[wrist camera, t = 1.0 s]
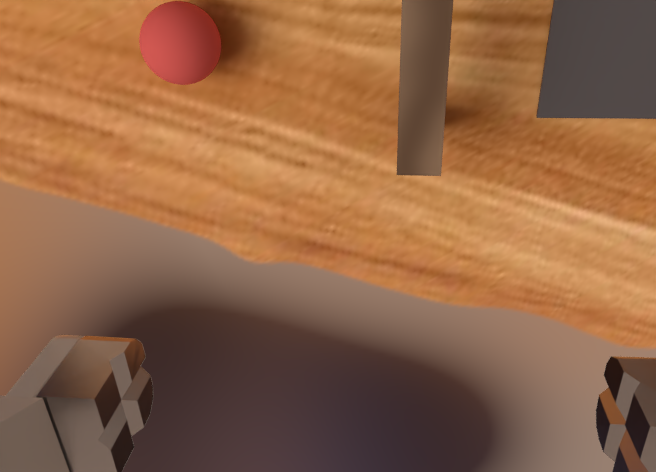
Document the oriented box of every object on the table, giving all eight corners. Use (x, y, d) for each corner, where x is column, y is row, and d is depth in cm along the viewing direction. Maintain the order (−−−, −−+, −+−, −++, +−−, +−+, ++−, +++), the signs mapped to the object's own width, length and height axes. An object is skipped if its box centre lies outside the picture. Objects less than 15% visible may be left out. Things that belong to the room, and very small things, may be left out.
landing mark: (563, -65, 41) (564, -65, 41) (764, -70, 40) (766, -70, 40) (536, 116, 48) (537, 117, 48) (708, 118, 46) (710, 118, 46)
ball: (150, -4, 46) (118, 8, 41) (225, -6, 46) (202, 7, 41) (163, 73, 49) (135, 94, 44) (233, 73, 49) (213, 94, 44)
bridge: (398, 127, 50) (396, 174, 41) (404, -77, 42) (404, -69, 34) (434, 127, 49) (440, 175, 41) (447, -78, 42) (458, -71, 33)
